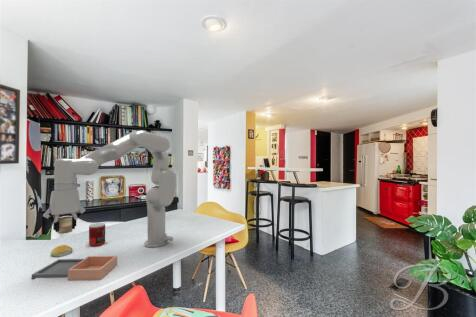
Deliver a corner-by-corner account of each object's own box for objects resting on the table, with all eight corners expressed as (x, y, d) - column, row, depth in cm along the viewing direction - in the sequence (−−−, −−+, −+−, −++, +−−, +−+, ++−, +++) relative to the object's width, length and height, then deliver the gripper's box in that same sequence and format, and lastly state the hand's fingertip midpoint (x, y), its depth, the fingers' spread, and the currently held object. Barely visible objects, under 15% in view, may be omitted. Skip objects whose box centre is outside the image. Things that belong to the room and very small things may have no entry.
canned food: (97, 247, 122) (97, 227, 122) (85, 246, 124) (85, 226, 124) (108, 242, 130) (108, 223, 130) (96, 241, 131) (96, 222, 131)
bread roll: (67, 249, 120) (67, 241, 120) (74, 253, 116) (74, 245, 116) (47, 254, 113) (47, 246, 113) (55, 258, 109) (55, 250, 109)
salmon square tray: (117, 265, 101) (117, 255, 101) (100, 281, 88) (100, 269, 88) (88, 266, 100) (88, 256, 100) (67, 281, 88) (67, 270, 88)
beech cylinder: (75, 229, 99) (75, 216, 99) (67, 233, 94) (67, 219, 94) (63, 230, 99) (63, 216, 99) (54, 233, 94) (54, 219, 94)
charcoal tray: (89, 262, 104) (89, 258, 104) (67, 278, 90) (67, 274, 90) (58, 263, 104) (58, 259, 104) (31, 279, 90) (31, 274, 90)
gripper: (86, 185, 106) (85, 224, 105) (37, 188, 93) (37, 232, 93) (91, 186, 101) (90, 227, 100) (40, 189, 88) (40, 236, 88)
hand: (65, 229), depth 97 cm, fingers closed on beech cylinder, 4 cm apart
